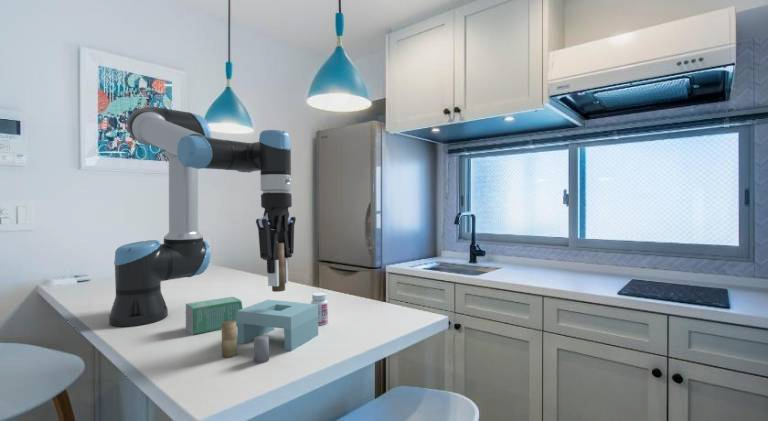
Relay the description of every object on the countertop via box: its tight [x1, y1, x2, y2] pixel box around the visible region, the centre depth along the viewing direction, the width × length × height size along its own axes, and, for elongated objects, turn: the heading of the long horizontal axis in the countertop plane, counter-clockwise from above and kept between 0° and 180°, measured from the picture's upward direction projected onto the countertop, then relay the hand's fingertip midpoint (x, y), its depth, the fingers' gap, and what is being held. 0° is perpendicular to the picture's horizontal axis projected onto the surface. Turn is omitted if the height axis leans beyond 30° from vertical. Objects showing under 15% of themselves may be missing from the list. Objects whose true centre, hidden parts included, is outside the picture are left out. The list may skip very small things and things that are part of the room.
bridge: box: [236, 299, 319, 352], centre depth 102 cm, size 16×12×8 cm
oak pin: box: [221, 321, 238, 359], centre depth 91 cm, size 3×3×8 cm
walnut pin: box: [271, 242, 286, 293], centre depth 101 cm, size 3×3×12 cm
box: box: [185, 296, 243, 336], centre depth 112 cm, size 7×14×8 cm, turn 131°
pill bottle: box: [310, 292, 329, 326], centre depth 114 cm, size 5×5×8 cm
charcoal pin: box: [253, 335, 270, 364], centre depth 88 cm, size 3×3×5 cm
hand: (278, 284), depth 101 cm, fingers closed on walnut pin, 3 cm apart
